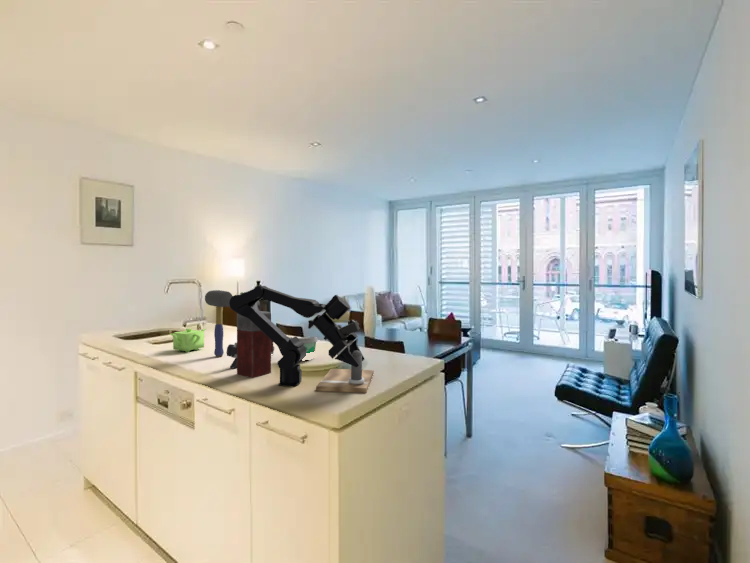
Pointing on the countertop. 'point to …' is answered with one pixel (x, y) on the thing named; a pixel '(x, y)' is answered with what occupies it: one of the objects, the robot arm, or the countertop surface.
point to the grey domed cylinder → (356, 370)
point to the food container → (309, 343)
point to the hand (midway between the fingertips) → (360, 363)
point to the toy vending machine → (253, 348)
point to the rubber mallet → (218, 315)
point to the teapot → (188, 340)
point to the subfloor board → (344, 381)
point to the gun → (235, 354)
